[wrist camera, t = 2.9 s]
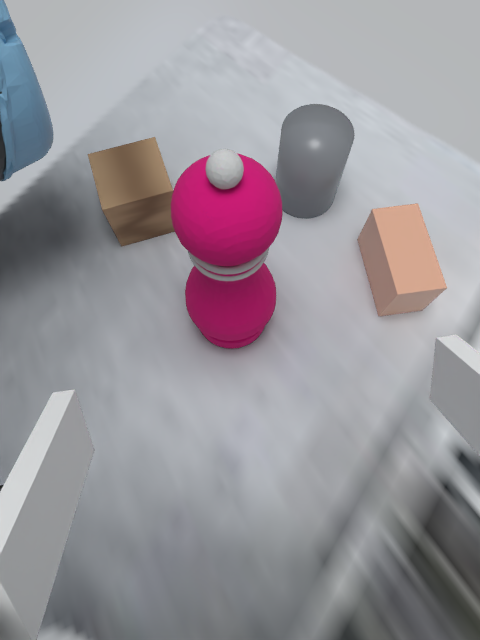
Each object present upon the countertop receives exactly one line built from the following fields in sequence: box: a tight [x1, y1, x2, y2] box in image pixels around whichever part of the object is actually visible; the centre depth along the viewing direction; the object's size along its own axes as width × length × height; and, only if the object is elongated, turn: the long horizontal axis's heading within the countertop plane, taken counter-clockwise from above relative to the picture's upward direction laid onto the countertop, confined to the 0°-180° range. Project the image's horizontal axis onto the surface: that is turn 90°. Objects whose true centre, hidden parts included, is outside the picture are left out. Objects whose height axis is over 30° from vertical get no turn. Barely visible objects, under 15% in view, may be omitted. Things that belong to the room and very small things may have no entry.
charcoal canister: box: [275, 104, 354, 218], centre depth 38 cm, size 6×6×8 cm
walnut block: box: [88, 137, 175, 247], centre depth 38 cm, size 6×6×6 cm
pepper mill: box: [171, 149, 282, 348], centre depth 28 cm, size 7×7×20 cm
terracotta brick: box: [357, 204, 447, 316], centre depth 37 cm, size 4×8×5 cm, turn 8°
